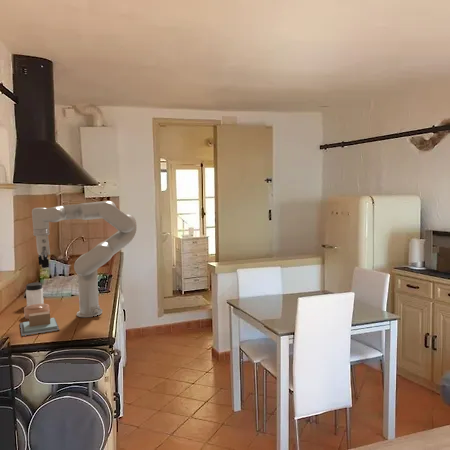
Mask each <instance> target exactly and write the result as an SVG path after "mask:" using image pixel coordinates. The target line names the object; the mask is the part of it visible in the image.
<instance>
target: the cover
mask: <svg viewBox="0 0 450 450" xmlns="http://www.w3.org/2000/svg"><path fill="white" fill-rule="evenodd" d="M54 318H55V317H51V313H49V311H48V312H40V313H33V314H29V320H27V321H23V322H22V323H23V326H24V332H25V333H28V332H35V331H41V330H48V329H54V328H57V325H58V323H57V324H56V322H57V321H56V322H55V320H56V318H55V319H54Z"/></svg>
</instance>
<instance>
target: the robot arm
mask: <svg viewBox="0 0 450 450" xmlns="http://www.w3.org/2000/svg"><path fill="white" fill-rule="evenodd" d="M98 219H103V220H104V221H105V222H107V223H108V224H109V225H111V226H112V227H113V228H114V229H116V230H117V231H116V232H115V233H113V234H112V235H111V236H109V237H108V238H106V239H105V240H103V241H101V242H99V243H98V244H96V246H94V247H93V248H92V249H90V250H88V251H87V252H85V253H83V254H81V255H80V256H79V257H78V258H77V259H76V260H75V262H74V265H73V270H74V271H75V273H76V274H77V283H78V285H77V286H78V287H77V288H78V300H79V301H78V305H79V311H77V312H76V316H77V317H78V318H93V316H94V317H97V315H98V316H100V315H102V314H103V309H102V308H101V307H100V304H99V288H98V287H99V286H98V284H99V282H98V269H100V268H101V267H102V266H105V265H106V264H107V263H108V262H109V261H110V260H111V259H112V257H113V256H115V254H117V253H118V252H120V251H121V250H123V248H125V247H126V246H128V245H129V244H130V243H131V242H132V240H133V239H134V238H135V236H136V233H137V221H136V218H135V217H134V216H133V215H131V214H126V213H125V212H124V211H121V210H120V209H119V208H118V207H117V205H116V204H115V202H114V201H110V200H104V201H93V202H82V203H79V204H77V203H75V204H67V205H57V206H53V207H33V208H32V209H31V220H32V231H33V234H32V235H33V236H34V237H35V240H36V241H35V242H36V253H37V255H38V256H37V257H38V265H39V266H40V265H41V268H42V269H44V268H45V269H46V268H49V267H50V263H49V257H48V256H49V255H51V249H50V248H51V247H50V240H49V235H50V234H51V233H50V232H51V231H50V223H58V222H61V221H65V220H66V221H67V220H83V221H88V220H98Z"/></svg>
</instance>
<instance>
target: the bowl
mask: <svg viewBox="0 0 450 450" xmlns="http://www.w3.org/2000/svg"><path fill="white" fill-rule="evenodd" d="M48 311H49V313H50V312H51V311H50V304H48V303H44V304H33V305H29V306H27V305H26V306H25V307H23V312H24V313H23V315H24V320H28V319H29V314H33V313H40V312H48ZM50 314H51V313H50Z"/></svg>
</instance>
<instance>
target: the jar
mask: <svg viewBox="0 0 450 450" xmlns="http://www.w3.org/2000/svg"><path fill="white" fill-rule="evenodd" d="M25 286H26V287H25V295H26V297H25V298H26V306H29V305H33V304H45V302H44V288H43V283H42V282H31V283H27V284H26V285H25Z"/></svg>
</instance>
